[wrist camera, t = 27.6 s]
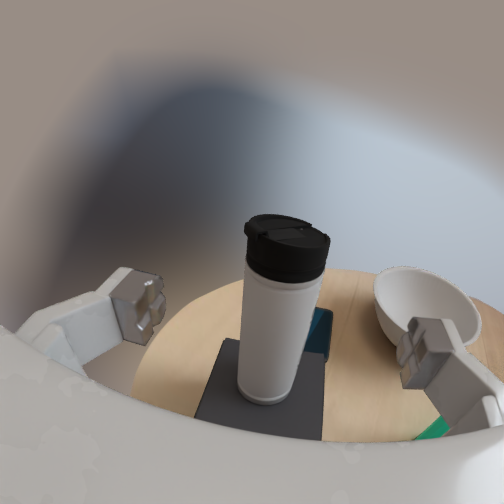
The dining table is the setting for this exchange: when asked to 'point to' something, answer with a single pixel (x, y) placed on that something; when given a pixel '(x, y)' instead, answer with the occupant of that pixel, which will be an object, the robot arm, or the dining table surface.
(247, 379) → the travel mug
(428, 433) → the candle
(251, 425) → the box
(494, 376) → the robot arm
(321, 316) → the smartphone
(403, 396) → the dining table surface
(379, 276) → the bowl
